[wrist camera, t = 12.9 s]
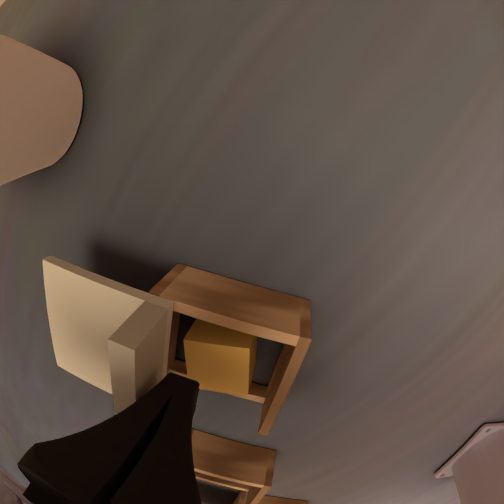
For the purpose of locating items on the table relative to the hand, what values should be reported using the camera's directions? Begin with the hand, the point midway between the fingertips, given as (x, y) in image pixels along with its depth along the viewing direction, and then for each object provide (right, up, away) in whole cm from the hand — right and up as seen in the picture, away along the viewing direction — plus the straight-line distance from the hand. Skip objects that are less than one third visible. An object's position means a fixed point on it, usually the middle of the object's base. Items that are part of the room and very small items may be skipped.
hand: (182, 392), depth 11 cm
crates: (+3, -10, +8) cm, 13 cm away
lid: (-4, +2, +2) cm, 5 cm away
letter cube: (+2, +1, +5) cm, 5 cm away
